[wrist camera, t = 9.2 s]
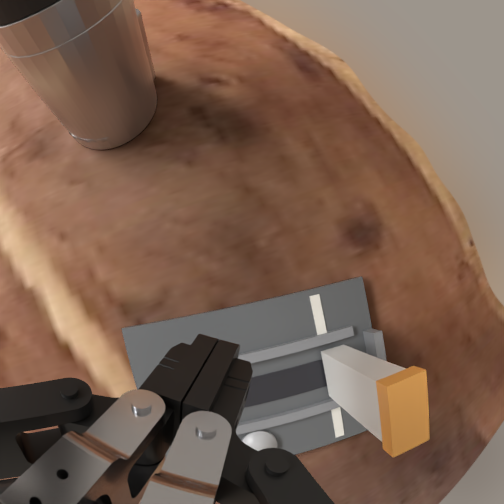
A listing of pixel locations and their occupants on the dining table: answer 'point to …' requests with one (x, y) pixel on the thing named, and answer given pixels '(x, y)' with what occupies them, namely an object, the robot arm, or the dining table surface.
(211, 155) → the dining table surface
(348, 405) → the fader
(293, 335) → the console
